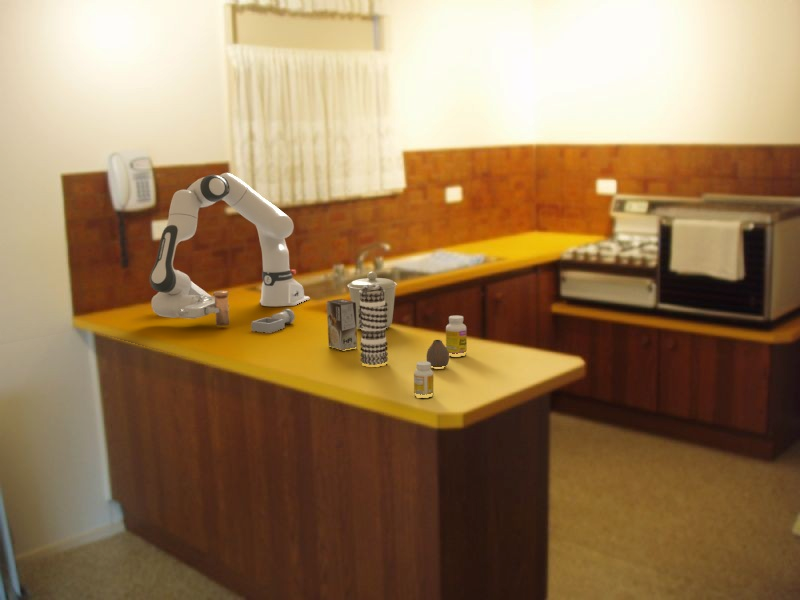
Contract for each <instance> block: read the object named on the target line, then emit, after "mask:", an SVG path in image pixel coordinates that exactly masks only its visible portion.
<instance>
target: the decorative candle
mask: <svg viewBox="0 0 800 600" xmlns="http://www.w3.org/2000/svg"><path fill="white" fill-rule="evenodd" d="M384 291H385V290H383V288H382V287H381V286H379V285H366V286H363V288H362V289H361V290H360V291H359V292H360V298H361V300H360V306H359V307H360V309H359V310H358V312H359V313H360V314H359V318H360V319H361V320H359V324H361V325H360V327H359V328H360V329H361V330H360V329H359V330H360V331H361V336H360V337H361V338H360V340H361V341H360V344H359V345H360V346H361V347H360V351H361V353H360V362H361V363H364V364H368V365H377V364H382V363H385V362H388V360H389V359H388V356H389V355H388V352H387V351H388V341H387V336H386V330H387V329H388V328H387V326H386V325H385V323H386V322H387V319H385V318H386V317H387V314H384V311H385V312H386V311H387V310H388V309H387V308H384V307H385V306H387V305H388V304H387V303H385V299H384ZM386 328H387V329H386Z"/></svg>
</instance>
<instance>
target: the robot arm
mask: <svg viewBox="0 0 800 600" xmlns="http://www.w3.org/2000/svg"><path fill="white" fill-rule="evenodd" d="M219 201H224V203H226V204H227V205H229V206H230V207H231V208H232V209H233V210H234V211H235V212H237V213H238V214H239V215H241V216H242V217H243V218H245V220H247V221H249V222H251V223H252V224H254V226H255V227H256V230H257V234H258V238H259V245H260V248H261V257H262V271H261V278H262V283H261V294H260V295H261V297H260V299H259V303H260V305H261V306H264V307H289V306H291V307H292V306H297V304H298V305H299V303H300V304H302V303H304V301H305V302H306V300H307V301H309V300H311V297H310V296H308V295H305V291H304V287H303V285H302V284H301V283H299V282H298V281H297V280H295V278H294V277H293V276H294V275H296V269H290V254H289V253H290V252H289V249H288V246H287V242H286V239H287V238H288V237H290V236H291V235H292V234H293V232H294V228H295V227H294V226H295V225H294V222H293V219H292V218H291V217H289V215H287V214H286V213H284V212H283V211H282V210H281V209H279V208H278V207H277V206H276V205H274V204H272V203H271V202H270V201H268V200H267V199H265V198H264V197H263V196H261V195H260V194H259V193H258V192H256V191H255V190H254V189H253V188H252V187H251V186H249V185H248V184H247V183H246V182H244V181H243V180H241V179H240V178H239V177H237V176H235V175H233V174H231V173H229V172H224V173H221V174H219V175H216V174H210V175H209V174H208V175H205V176H204V177H200V178H198V179H197V180H196V181H194V182H192V183H190V184H189V185H188V186H187V187H186V189H180V190H177V191H176V192H174V194H173V196H172V198H171V201H170V202H171V203H170V206H169V211H168V218H167V224H166V227H164V229H163V231H162V234H161V236H160V237H161V238H160V241H159V246H158V250H157V254H156V259H155V263H154V265H153V267H152V269H151V272H150V274H149V284H150V287H151V288H153V290H154V291H156V292H157V293H156V294H155V295H153V297H152V298H151V309H152V310H153V312H154V313H155V314H156V315H157V316H159V317H165V318H182V319H191V320H193V319H194V320H195V319H197V318H202V317H204V316H207V315H210V314H214V313H215V314H216V313H219V312H221V310H220V309H221V308H220V307H216V308H215V297H214V296H212V295H210V296H207V297H206V295H189V293H190V289H191V281H192V280H191V278H190V276H189V275H188V274H187V273H185V272H183V271H180V270H179V271H177V270H178V269H175V267H174V258H175V254H176V249H177V246H178V244H179V243H180V242H185V241H187V240H190V239H191V238H193V236H195V234H196V232H197V228H198V227H197V226H198V219H199V211H200V209H204V208H207V207H209V206H212V205H214V204H215V203H217V202H219ZM301 302H302V303H301ZM229 309H230V306H229V304H228V310H229Z"/></svg>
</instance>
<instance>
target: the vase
mask: <svg viewBox="0 0 800 600" xmlns="http://www.w3.org/2000/svg"><path fill="white" fill-rule="evenodd" d="M426 361H427V362H430V363H431V366H433V367H442V366H446V365H447V366H448V365H449V361H450V357H449V353H448V350H447V348H446V345H445V344H444V343H443V341H442V339H434V340H433V341H432V344H431V345H430V346H429V347H428V348H427V352H426ZM447 366H446V367H447Z"/></svg>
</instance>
